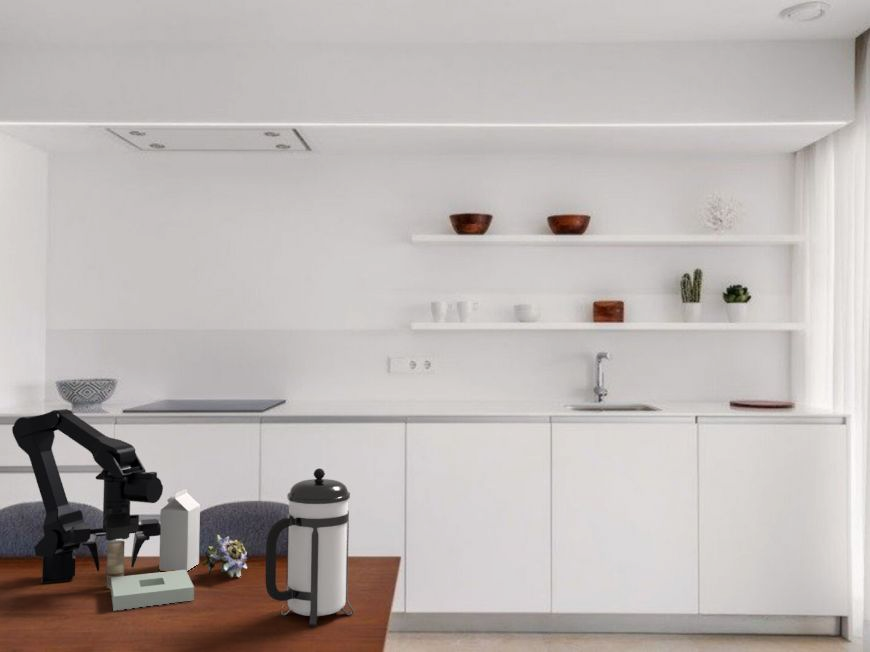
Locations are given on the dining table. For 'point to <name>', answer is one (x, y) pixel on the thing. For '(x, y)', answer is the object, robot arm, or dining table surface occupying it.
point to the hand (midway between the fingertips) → (115, 568)
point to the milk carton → (179, 533)
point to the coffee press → (313, 549)
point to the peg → (115, 560)
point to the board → (151, 589)
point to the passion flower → (227, 556)
